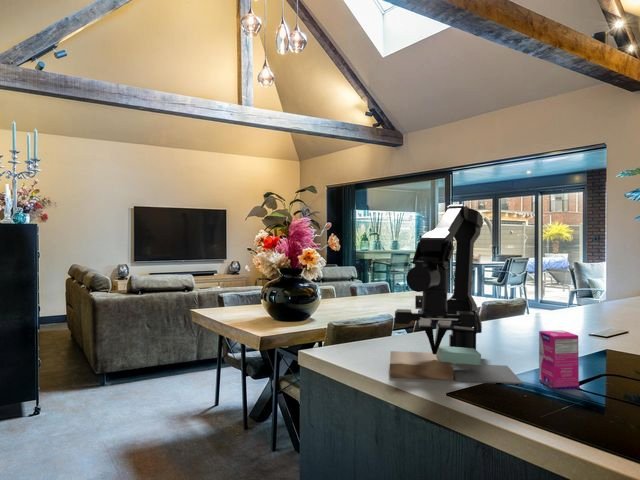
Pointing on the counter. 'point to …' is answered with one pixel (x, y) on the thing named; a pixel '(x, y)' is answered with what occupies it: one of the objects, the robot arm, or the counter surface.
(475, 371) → the mat
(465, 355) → the mint green block
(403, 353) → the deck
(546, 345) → the supplement box
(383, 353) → the counter surface
